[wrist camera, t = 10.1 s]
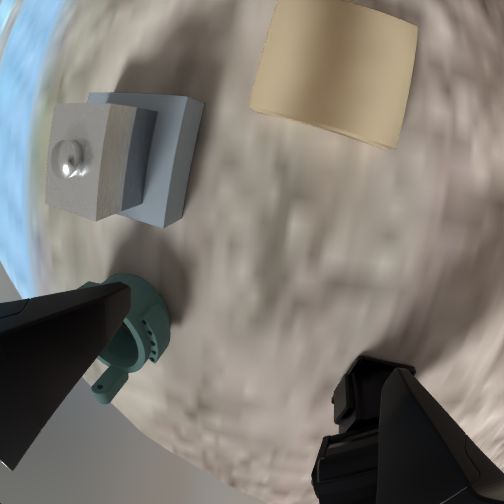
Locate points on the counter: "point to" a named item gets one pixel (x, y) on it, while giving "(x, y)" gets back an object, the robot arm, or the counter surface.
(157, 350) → the bracket
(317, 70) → the stand oak
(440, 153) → the counter surface
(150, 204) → the stand slate
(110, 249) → the counter surface
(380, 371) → the robot arm
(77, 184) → the block
